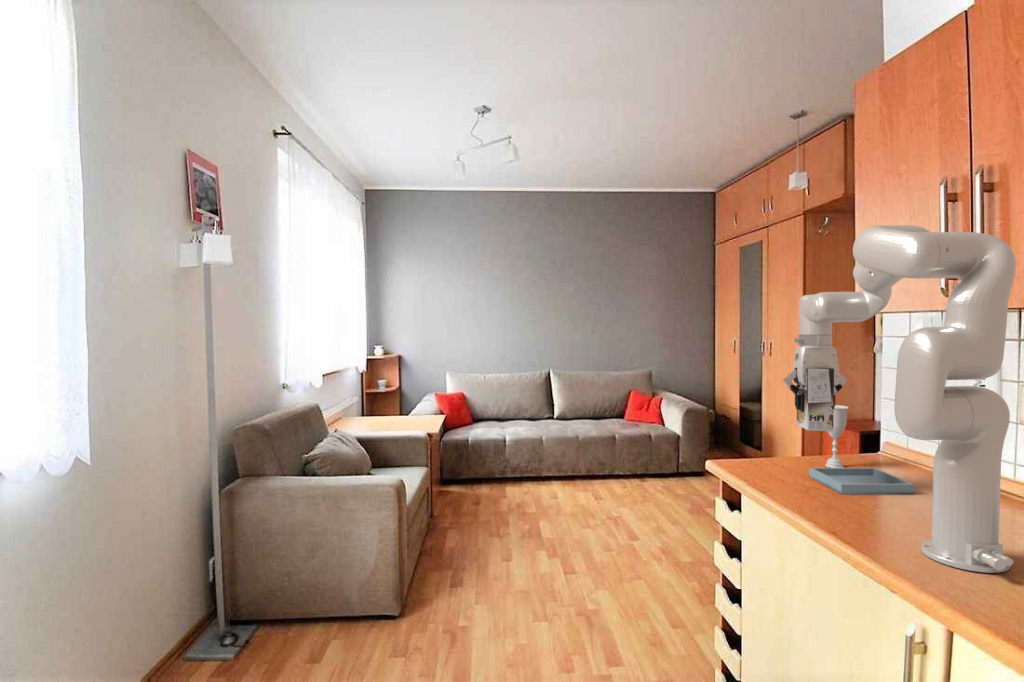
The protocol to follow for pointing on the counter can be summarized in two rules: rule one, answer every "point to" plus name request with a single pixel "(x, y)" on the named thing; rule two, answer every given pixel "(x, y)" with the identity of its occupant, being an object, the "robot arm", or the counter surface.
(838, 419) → the chalice
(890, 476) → the tray
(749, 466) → the counter surface
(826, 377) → the coffee box
